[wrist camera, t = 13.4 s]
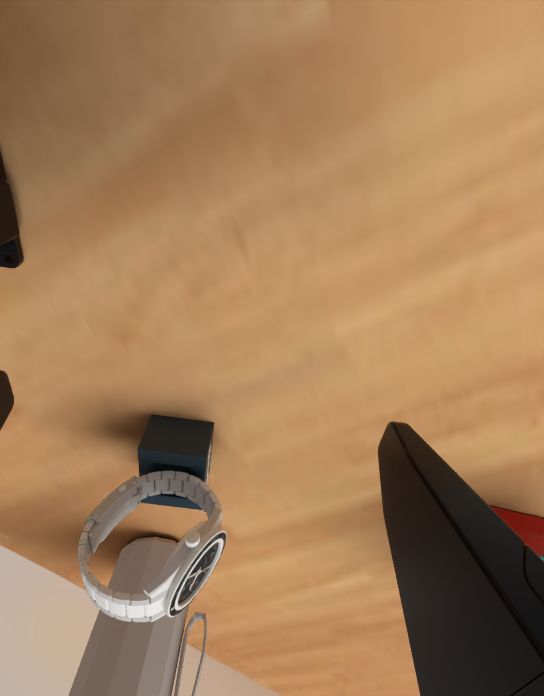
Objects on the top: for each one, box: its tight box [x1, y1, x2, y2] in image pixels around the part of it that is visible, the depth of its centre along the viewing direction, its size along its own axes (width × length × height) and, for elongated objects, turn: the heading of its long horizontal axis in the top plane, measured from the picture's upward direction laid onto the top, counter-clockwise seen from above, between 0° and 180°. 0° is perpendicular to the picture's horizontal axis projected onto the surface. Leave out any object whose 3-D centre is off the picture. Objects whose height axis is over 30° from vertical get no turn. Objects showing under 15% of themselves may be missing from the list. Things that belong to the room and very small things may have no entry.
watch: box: [78, 415, 227, 622], centre depth 24 cm, size 6×8×11 cm
